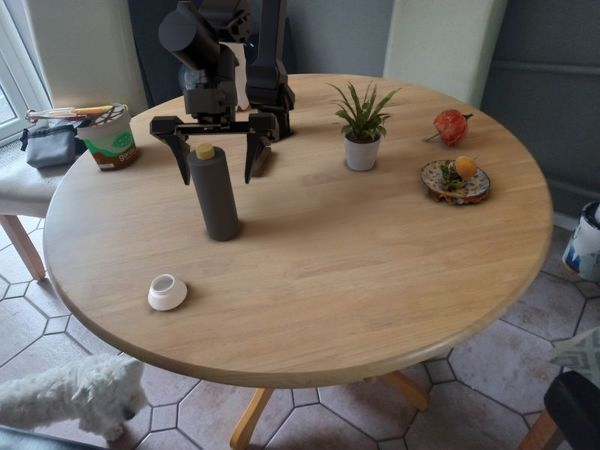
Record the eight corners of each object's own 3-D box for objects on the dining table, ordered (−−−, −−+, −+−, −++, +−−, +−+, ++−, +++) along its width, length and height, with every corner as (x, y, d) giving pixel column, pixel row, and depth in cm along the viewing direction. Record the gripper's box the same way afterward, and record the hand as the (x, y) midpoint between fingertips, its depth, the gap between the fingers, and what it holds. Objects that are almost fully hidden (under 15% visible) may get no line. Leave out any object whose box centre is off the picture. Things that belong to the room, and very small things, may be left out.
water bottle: (250, 112, 93) (234, -3, 76) (221, 113, 93) (199, -1, 76) (253, 100, 98) (238, -10, 81) (226, 101, 98) (206, -8, 82)
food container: (124, 177, 73) (104, 131, 66) (96, 175, 74) (74, 129, 67) (154, 146, 82) (139, 102, 75) (129, 144, 83) (112, 101, 76)
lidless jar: (194, 288, 51) (165, 278, 53) (189, 274, 49) (159, 264, 51) (172, 316, 48) (142, 305, 50) (166, 303, 46) (134, 291, 48)
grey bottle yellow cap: (229, 215, 63) (212, 134, 53) (246, 231, 60) (230, 148, 50) (202, 229, 61) (178, 147, 50) (217, 246, 57) (195, 162, 47)
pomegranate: (432, 160, 77) (481, 138, 71) (415, 131, 75) (464, 105, 69) (435, 146, 83) (481, 125, 77) (419, 118, 80) (465, 94, 75)
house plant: (306, 174, 71) (303, 90, 60) (332, 141, 80) (334, 63, 69) (378, 191, 66) (389, 103, 55) (398, 153, 75) (410, 71, 64)
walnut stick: (260, 152, 78) (259, 146, 77) (271, 153, 78) (270, 146, 77) (247, 176, 72) (245, 169, 71) (258, 177, 71) (257, 170, 70)
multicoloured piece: (453, 161, 72) (463, 125, 67) (503, 192, 64) (518, 154, 60) (404, 178, 69) (410, 142, 64) (450, 214, 61) (462, 176, 56)
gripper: (131, 60, 49) (130, 176, 49) (270, 55, 48) (271, 173, 48) (165, 94, 60) (165, 188, 60) (279, 90, 60) (280, 186, 59)
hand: (216, 184), depth 56 cm, fingers open, 9 cm apart
